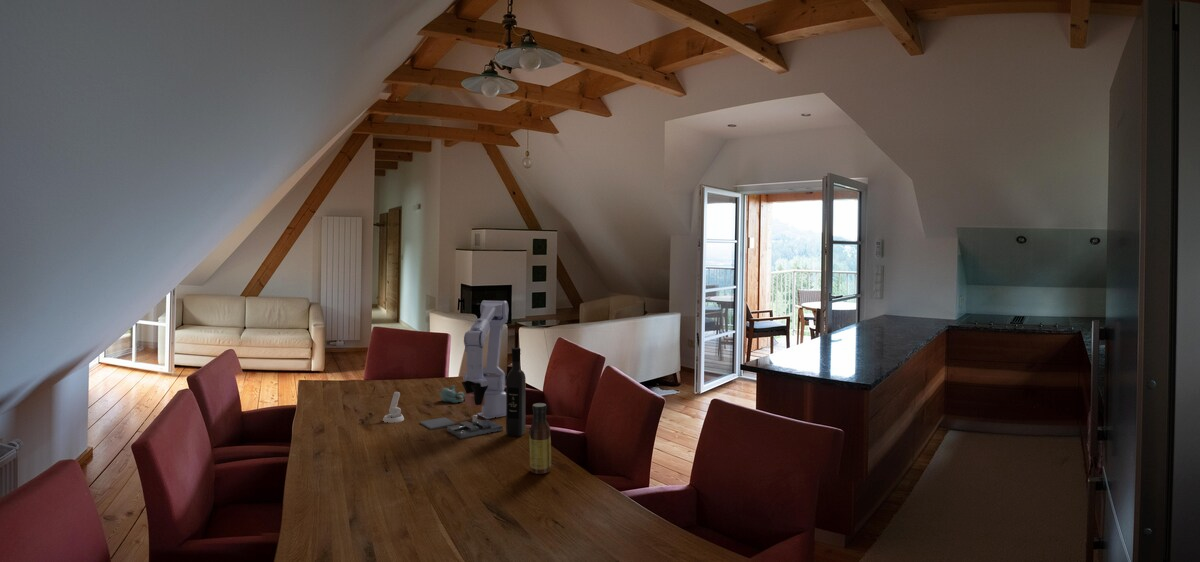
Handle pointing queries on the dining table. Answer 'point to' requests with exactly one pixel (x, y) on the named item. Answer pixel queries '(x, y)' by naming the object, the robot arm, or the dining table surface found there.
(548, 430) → the sauce bottle
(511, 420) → the wine bottle
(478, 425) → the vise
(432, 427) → the mat
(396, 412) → the hook
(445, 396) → the stuffed animal
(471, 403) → the collar block
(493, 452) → the dining table surface
